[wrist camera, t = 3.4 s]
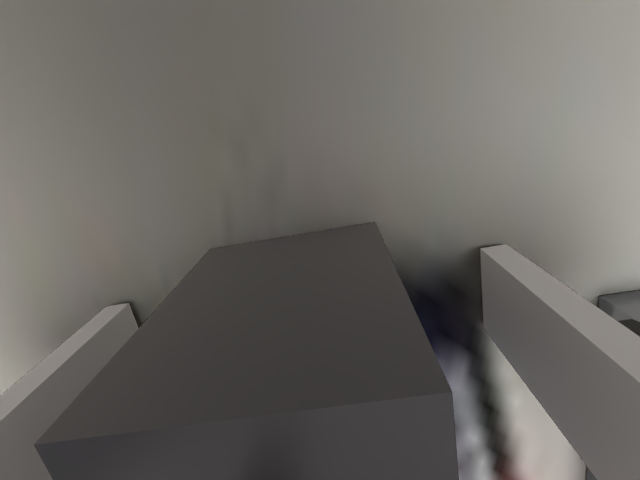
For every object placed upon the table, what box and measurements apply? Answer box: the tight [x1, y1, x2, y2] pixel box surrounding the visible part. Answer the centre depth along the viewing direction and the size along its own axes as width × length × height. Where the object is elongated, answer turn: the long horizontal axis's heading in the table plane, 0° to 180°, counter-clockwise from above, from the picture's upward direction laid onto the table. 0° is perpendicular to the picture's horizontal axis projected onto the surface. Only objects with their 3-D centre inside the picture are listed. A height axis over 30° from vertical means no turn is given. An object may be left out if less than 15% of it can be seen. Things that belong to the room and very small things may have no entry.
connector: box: [34, 222, 459, 480], centre depth 8 cm, size 5×5×9 cm
